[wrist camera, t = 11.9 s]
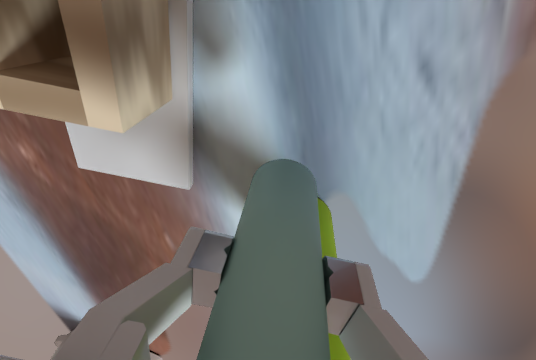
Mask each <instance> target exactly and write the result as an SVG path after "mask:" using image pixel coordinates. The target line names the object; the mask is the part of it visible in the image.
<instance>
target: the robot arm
mask: <svg viewBox="0 0 536 360" xmlns="http://www.w3.org/2000/svg"><path fill="white" fill-rule="evenodd" d="M233 240H234V236H230V235H226V234H222V233H218V232H214V231H209V230H204V229H200V228H196V227H191V228H190V229H189V230H188V232H187V234H186V235H185V237H184V239H183V241H182V243H181V245H180V247H179V248H178V250H177V252H176V254H175V256H174V258H173V260H172V261H171V263H170V264H169V263H165V264H163V265H162V266H160V267H158V268H157V269H155V270H153V271H152V272H150V273H148V274H147V275H145V276H144V277H142V278H140V279H139V280H137V281H135V282H134V283H132V284H130V285H129V286H127V287H126V288H124V289H122V290H121V291H119V292H117V293H116V294H114V295H113V296H111V297H109V298H108V299H106V300H104V301H103V302H101V303H99V304H98V305H96V306H95V307H93V308H91V309H90V310H89V311H88V312H87V313H86V315H85V316H84V317H83V319H82V320H81V321H80V323H79V324H78V325H77V327H76V328H75V330H73V331H71V332H70V333H69V334H67V335H61V336H58V338H57V339H56V341H55V345H56V346H57V347H58V348H57V350H56V351H55V353H54V355H53V356H52V357H51V359H50V360H162V358H161V357H159V356H158V355H155V354H153V353H151V352H150V351H149V344H150V343H152V342H153V341H154V340H155V339H156V338H157V337H158V336H159V335H160V334H161V333H162V332H163V331H164V330H166V329H167V328H168V327H169V326H170V325H171V324H172V323H173V322H174V321H175V320H176V319H177V318H178V317H180V315H182V314H183V313H184V312H185V311H186V310H187V309H188V308H189V307H190V306H191V304H194V305H199V306H205V307H211V308H213V305H214V302H215V298H216V295H217V292H218V289H219V286H220V283H221V280H222V277H223V273H224V270H225V267H226V263H227V260H228V257H229V254H230V251H231V248H232V244H233ZM322 261H323V273H324V285H325V298H326V310H327V323H328V333H330V334H334V335H338V336H339V338H340V340H341V342H342V344H343V345H344V347H345V349H346V351H347V353H348V355H349V356H350V358H351V360H428V359H427V357H426V356H425V355H424V354H423V353H422V351H421V350H420V349H419V348H418V347H417V345H416V344H415V343H414V342H413V341H412V340H411V338H410V337H409V336H408V335H407V334H406V333H405V331H404V330H403V329H402V328H401V327H400V326H399V324H398V323H397V322H396V321H395V320H394V319H393V317H392V316H391V315H390V314H389V313H388V312H387V310H383V309H382V308H381V304H380V300H379V297H378V293H377V290H376V286H375V282H374V279H373V275H372V272H371V268H370V266H369V265H368V264H363V263H358V262H353V261H349V260H343V259H339V258H334V257H329V256H324V257H323V259H322ZM0 360H21V359H17V358H12V357H8V356H3V355H0Z"/></svg>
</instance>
